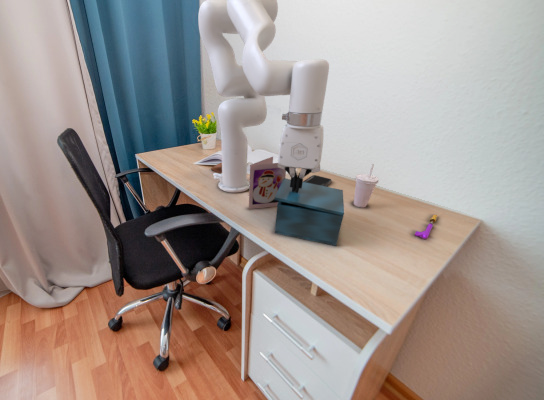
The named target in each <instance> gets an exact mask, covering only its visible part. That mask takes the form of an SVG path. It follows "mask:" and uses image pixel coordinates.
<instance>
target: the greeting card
mask: <svg viewBox="0 0 544 400" xmlns="http://www.w3.org/2000/svg"><path fill="white" fill-rule="evenodd" d="M277 165H278V162H274V156H270V157H268V158H265V159H262V160H260V161H256V162H254V163H252V164H249V181H250V186H249V189H248V194H249V195H248V210H251V209H263V208H273V207H277V204H278V202H279V201H278V200H274V198H275V196H276V194H277V192H278V189H279V187H280V185H281V183H282V181H283V179H284V178H286V176H287V175H286V174H287V171H286V170H284V169H281V168H278V167H277Z"/></svg>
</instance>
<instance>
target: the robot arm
mask: <svg viewBox="0 0 544 400" xmlns="http://www.w3.org/2000/svg"><path fill="white" fill-rule="evenodd" d="M278 11H279V4H278V0H204V1H203V2H202V3H201V4H200V7H199V9H198V15H197V16H198V19H197V20H198V21H197V22H198V23H197V24H198V32H199V37H200V39H201V42H202V44H203V47H204V49H205V51H206V54H207V56H208V60H209V64H210V69H211V73H212V77H213V81H214V85H215V86H214V87H215V90H216V91H217V94H218V95H219V96H220V97H225V98H230V99H226V100H224V101H222V102H221V103H220V104H219V106H218V108H217V119H218V124H219V129H220V141H221V142H220V144H221V145H220V147H221V162H222V173H218V172H213V175H212V177H213V180H215V181H219V182H218V184H217V185H218V188H219V190H221V191H224V192H226V193H241V192H245V191H249V185H250V180H248V151H249V150H248V146H249V145H248V144H249V143H248V142H249V141H248V137H247V136H246V134H245V132H244V130H243V129H245V128H251V127H256V126H257V127H258V126H260V125H262V124H264V122H265V121H266V119H267V114H268V108H267V103H266V97H277V96H289V105H288V112H287V113H282V115H281V120H282V121H285V122H286V124H284V125H283V127H282V128H283V129H282V130H281V131H282V132H281V135H280V141H279V147H278V155H277V163H278V165H277V167H278V168H281V169H284V170H286V173H287V174H288V175H289V177H290V179H291V182H290V187H292V192H294V191H295V192H298V191H299V188H300V189H301V188H302V183H303V181H304V178H305V177H306V176H308V175H309V174H310V173H312V174H313V173H320V172H321V162H322V155H323V147H324V146H323V145H324V126H323V125H321V123H322V117H323V111H324V104H325V97H326V91H327V84H328V78H329V72H330V71H329V70H330V63H329V62H328V60H327V59H321V58H312V59H301V60H269V59H268V58H267V57H266V56H265V54H264V51H265V50H267V48H269V46H270V45H271V44H272V43H273V41H274V39H275V37H276V31H277V28H276V24H275V21H276V19H277V17H278ZM224 34H228V35H231V34H232V35H239V37H240V38H241V40H242V42H243V44H244V45H243V49H242V54H241V63H242V64H241V65H240V64H238V62H237V60H236V56H235V51H234V48H233V46H232V45H231V43H230V42H229V41H228V40H227V38H225V36H224ZM233 97H234V98H233ZM235 97H239V98H235ZM241 97H242V98H241ZM297 169H300V172H299V173H298V172H297Z"/></svg>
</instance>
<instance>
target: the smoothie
mask: <svg viewBox="0 0 544 400" xmlns="http://www.w3.org/2000/svg"><path fill="white" fill-rule="evenodd" d="M374 166H375V164H374V163H372V164H371V167H370V169H369V174H368V173H359V174H356V175H355V178H354V179H355V187H354V196H353V205H354V206H355V207H358V208H366V207H367V205H368V203H369V201H370V199H371V197H372V194H373V192H374V190H375V188H376V186H377V184H379V181H380V178H378V177H377V176H375V175H372V173H373V170H374Z"/></svg>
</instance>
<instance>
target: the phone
mask: <svg viewBox="0 0 544 400" xmlns="http://www.w3.org/2000/svg"><path fill="white" fill-rule="evenodd" d="M303 182H306V183H311V184H316V185H321V186H326V187H328V185H331V183H332V179H331V178H328V177H325V176H320V175H316V174H313V175H311V176H309V177H308V178H306V179H305V180H303Z"/></svg>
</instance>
